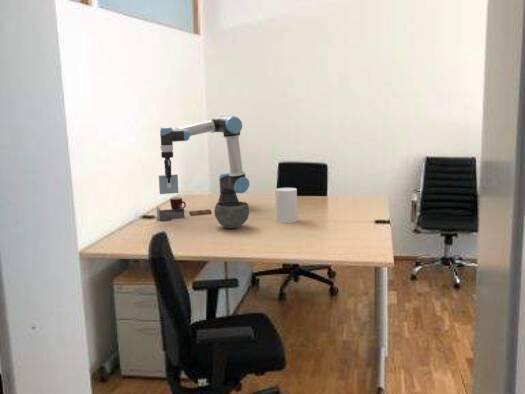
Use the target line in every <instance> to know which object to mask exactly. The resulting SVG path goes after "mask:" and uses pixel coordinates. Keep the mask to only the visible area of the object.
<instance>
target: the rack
mask: <svg viewBox="0 0 525 394" xmlns="http://www.w3.org/2000/svg"><path fill="white" fill-rule="evenodd" d="M183 207H184V206H183V205H182V206H181V205H179V209H172V208H171V209H163V210H162V209H161V208H160V207H159V206H156V217H157V219H158V221H160V222H164V221H166V222H167V221H172V219H181V218H185V208H183Z"/></svg>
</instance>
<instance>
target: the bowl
mask: <svg viewBox="0 0 525 394" xmlns="http://www.w3.org/2000/svg"><path fill="white" fill-rule="evenodd" d="M249 207H250V206H249V204H248V203H247V202H245V201H222V202H218V201H217V203H216V204H215V207H214V216H215V219H216V220H217V223H219V224H220V225H221V226H222V227H224V228H226V229H236V228H239V227H241V226H243V225H244V224H245V223H246V221H248V219H249V215H250V208H249Z"/></svg>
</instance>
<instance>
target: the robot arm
mask: <svg viewBox="0 0 525 394" xmlns="http://www.w3.org/2000/svg"><path fill="white" fill-rule="evenodd" d="M242 129H243V122H242V120H241V119H240V118H239V117H237V116H235V115H220V116H216V117H213V118H210V119H208V120H207V121H202V122H197V123H193V124H187V125H184V126H179V127H174V128H172V127H169V126H168V127H167V126H165V127H160V131H159V132H160V133H159V135H160V136H159V137H160V146H159V149H161V152H160V153H161V154H160V155H161V158H162V159H164V160H163V163H164V175H167V177H166V178H167V188H171V175H172V160H171V158H174V152H173V151H174V143H175V142H176V143H177V142H187V141H189V139H190V137H193V136H197V135H202V134H207V133H214V134H215V133H223V138H224V139H226V148H227V156H228V164H229V172H227V173H220V174H219V198H218V201H217V203H218V202H222V201H239V199H238V195H237V194H244V193H246V192H248V190H249V188H250V181H249V178H247V176H246V172H245V171H244V170H243V165H242V164H243V161H242V155H241V148H240V146H241V145H240V140H239V139H240V138H239V137H240V136H241V131H242ZM239 202H240V201H239Z"/></svg>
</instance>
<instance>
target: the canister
mask: <svg viewBox="0 0 525 394" xmlns="http://www.w3.org/2000/svg"><path fill="white" fill-rule="evenodd" d="M297 190H298V189H297V188H296V187H278V188H275V189H274V194H275V195H274V197H275V198H274V199H275V222H277V223H279V224H280V223H281V224H292V223H296V222H298V191H297Z"/></svg>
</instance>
